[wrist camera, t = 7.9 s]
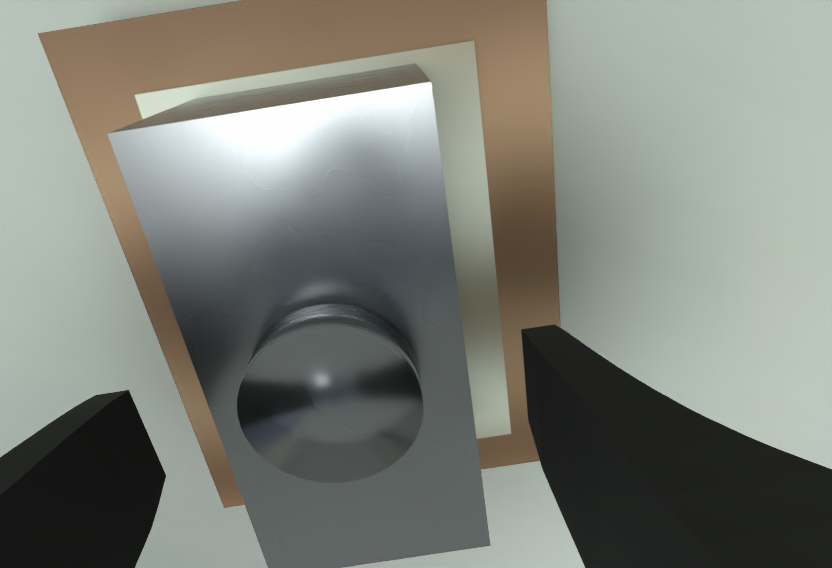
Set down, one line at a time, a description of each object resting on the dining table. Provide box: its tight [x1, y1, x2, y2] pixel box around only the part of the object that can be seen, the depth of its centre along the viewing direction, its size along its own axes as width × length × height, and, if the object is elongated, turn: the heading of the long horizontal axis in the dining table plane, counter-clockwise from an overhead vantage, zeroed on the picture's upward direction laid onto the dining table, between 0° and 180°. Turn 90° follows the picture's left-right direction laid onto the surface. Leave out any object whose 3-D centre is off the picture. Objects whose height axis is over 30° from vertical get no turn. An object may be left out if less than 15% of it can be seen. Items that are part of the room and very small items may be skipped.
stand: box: [38, 0, 560, 508], centre depth 16 cm, size 14×11×3 cm
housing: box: [107, 63, 490, 568], centre depth 12 cm, size 10×5×5 cm, turn 8°
